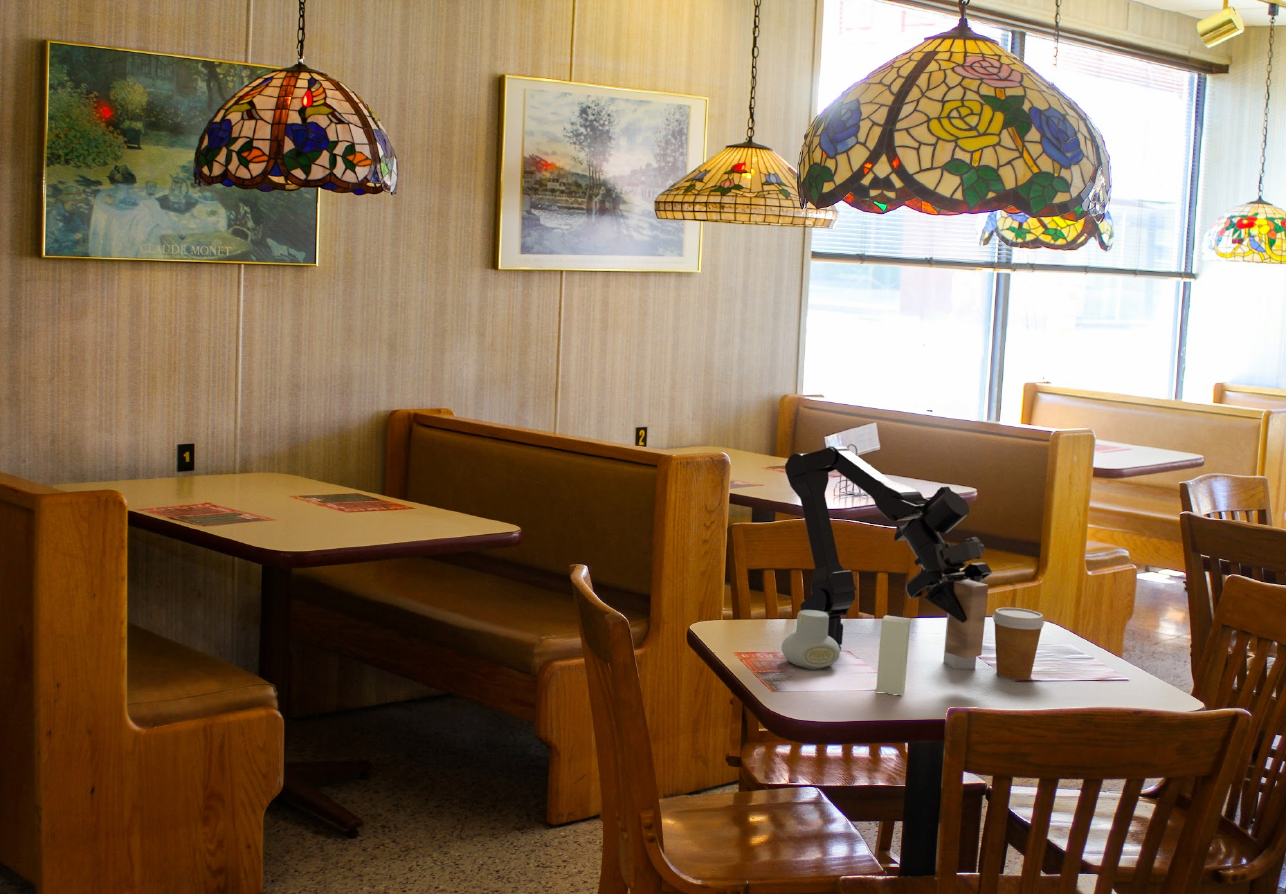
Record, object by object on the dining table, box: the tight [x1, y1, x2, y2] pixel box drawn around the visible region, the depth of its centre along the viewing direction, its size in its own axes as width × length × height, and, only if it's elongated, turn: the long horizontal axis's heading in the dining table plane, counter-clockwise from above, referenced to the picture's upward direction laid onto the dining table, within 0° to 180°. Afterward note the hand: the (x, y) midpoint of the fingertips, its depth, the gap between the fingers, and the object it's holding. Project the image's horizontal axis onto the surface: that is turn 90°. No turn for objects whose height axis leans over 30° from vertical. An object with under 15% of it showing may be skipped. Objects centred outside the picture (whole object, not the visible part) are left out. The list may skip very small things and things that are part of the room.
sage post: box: [875, 615, 911, 697], centre depth 224 cm, size 4×4×13 cm
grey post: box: [942, 612, 977, 670], centre depth 244 cm, size 4×4×13 cm
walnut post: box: [946, 579, 989, 659], centre depth 227 cm, size 4×4×13 cm
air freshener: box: [781, 610, 841, 670], centre depth 238 cm, size 11×8×10 cm
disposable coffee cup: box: [991, 607, 1046, 680], centre depth 240 cm, size 10×10×12 cm
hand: (973, 619), depth 226 cm, fingers closed on walnut post, 4 cm apart
